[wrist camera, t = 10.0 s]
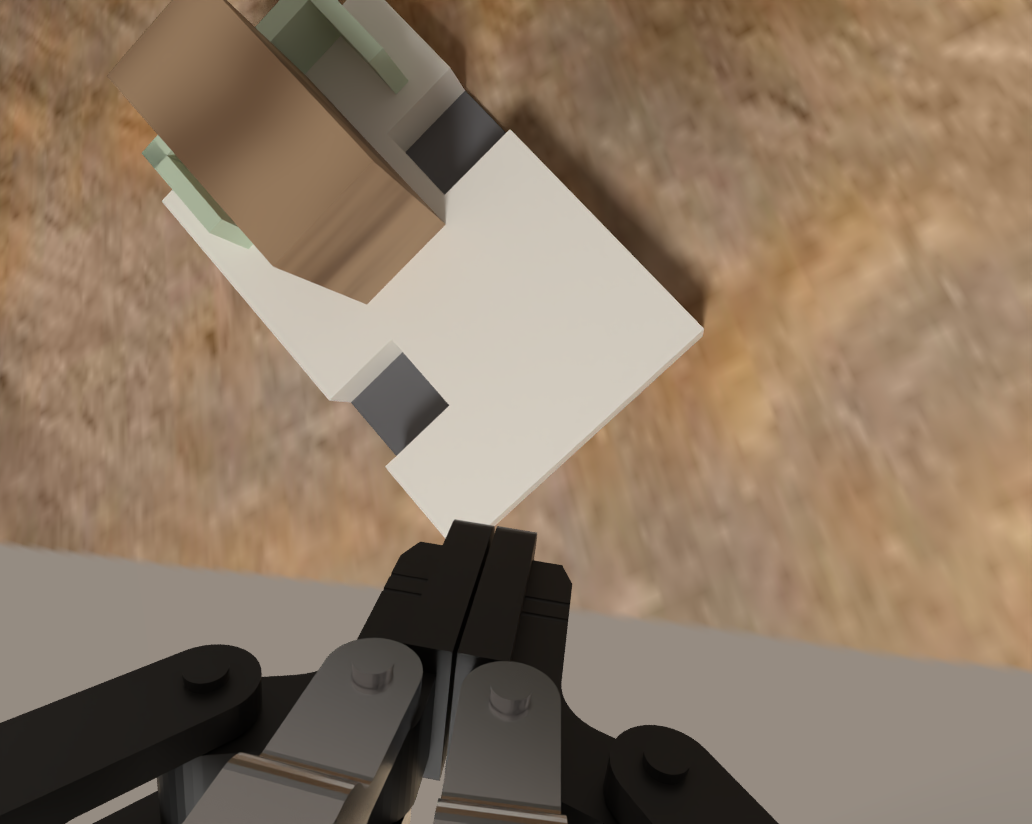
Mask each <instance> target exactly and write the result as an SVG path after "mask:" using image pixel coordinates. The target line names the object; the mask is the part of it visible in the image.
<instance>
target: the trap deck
mask: <svg viewBox="0 0 1032 824" xmlns="http://www.w3.org/2000/svg"><path fill="white" fill-rule="evenodd" d="M255 28H256V29H257V30H258V31H260V32H261V33H262V34H263V35H264V36H265V37H266V38H267V39H268V40H269V41H270V42H271V43H272V44H273V45H274V46H275V47H276V48H277V49H279V50H280V51H281V52H282V53H283V54H284V55H285V56H286V57H287V58H288V59H289V60H290V61H291V62H292V63H293V64H294V65H295V66H296V67H298V68H299V69H300V70H301V71H302V72H303V73H304V74H305V75H306V76H307V77H308V78H309V79H310V80H311V82H312V83H313V84H314V85H315V86H316V87H317V88H318V89H319V90H320V91H321V92H322V93H323V94H324V95H325V96H326V97H327V99H328V100H329V101H330V102H331V103H332V104H333V105H334V106H335V107H336V108H337V109H338V110H339V111H340V112H341V113H342V115H343V116H344V117H345V118H346V119H347V120H348V121H349V122H350V123H351V124H352V125H353V126H354V127H355V128H356V129H357V131H358V132H359V133H360V134H361V135H362V136H363V137H364V138H365V139H366V140H367V141H368V142H369V143H370V144H371V145H372V146H373V148H374V149H375V150H376V151H377V152H378V153H379V154H380V155H381V156H382V157H383V158H384V159H385V160H386V161H387V162H388V164H389V165H390V166H391V167H392V168H393V169H394V170H395V171H396V172H397V173H398V174H399V175H400V176H401V177H402V178H403V180H404V181H405V182H406V183H407V184H408V185H409V186H410V187H411V188H412V189H413V190H414V191H415V192H416V193H417V194H418V196H419V197H420V198H421V199H422V200H423V201H424V202H425V203H426V204H427V205H428V206H429V207H430V208H431V209H432V210H433V211H434V213H435V214H436V215H437V216H438V217H439V218H440V219H441V220H442V221H443V222H444V223H445V224H446V225H445V226H444V227H443V228H442V229H441V230H440V231H439V232H438V233H437V234H436V235H435V236H434V237H433V238H432V239H431V240H430V241H429V242H428V243H427V244H426V245H425V246H424V247H423V248H422V249H421V250H420V251H419V252H418V253H417V254H416V255H415V256H414V257H413V258H412V259H411V260H410V261H409V262H408V263H407V264H406V265H405V266H404V267H403V268H402V269H401V270H400V271H399V272H398V273H397V275H396V276H395V277H394V278H393V279H392V280H391V281H390V282H389V283H388V284H387V285H386V286H385V287H384V288H383V289H382V290H381V291H380V292H379V293H378V294H377V295H376V296H375V297H374V298H373V299H372V300H371V301H370V302H369V303H368V304H364V303H362V302H359V301H357V300H354V299H352V298H349V297H347V296H344V295H342V294H339V293H337V292H334V291H332V290H330V289H327V288H325V287H322V286H320V285H317V284H315V283H312V282H310V281H307V280H305V279H302V278H300V277H298V276H295V275H293V274H290V273H288V272H285V271H283V270H280V269H278V268H275V267H273V266H272V265H271V264H270V263H269V261H268V260H267V259H266V258H265V257H264V256H263V255H262V253H261V252H260V251H259V250H258V249H257V248H256V247H255V245H254V244H253V243H252V242H251V241H250V240H249V239H248V237H247V236H246V235H245V234H244V233H243V232H242V231H241V229H240V228H239V227H238V226H237V225H236V224H235V223H234V221H233V220H232V219H231V218H230V217H229V216H228V215H227V213H226V212H225V211H224V210H223V209H222V208H221V206H220V205H219V204H218V203H217V202H216V201H215V200H214V198H213V197H212V196H211V195H210V194H209V193H208V192H207V190H206V189H205V188H204V187H203V186H202V185H201V184H200V182H199V181H198V180H197V179H196V178H195V177H194V176H193V174H192V173H191V172H190V171H189V170H188V169H187V168H186V166H185V165H184V164H183V163H182V162H181V161H180V160H179V158H178V157H177V156H176V155H175V154H174V153H173V151H172V150H171V149H170V148H169V147H168V146H167V145H166V143H165V142H164V141H163V140H162V139H161V138H160V137H159V135H157V137H156V138H155V139H154V140H153V141H152V142H151V143H150V144H149V145H148V146H147V148H146V149H145V150H144V151H143V152H142V154H143V155H144V156H145V158H146V159H147V160H148V161H149V162H150V164H151V165H152V166H153V167H154V168H155V169H156V171H157V172H158V173H159V174H160V175H161V177H162V178H163V179H164V180H165V181H166V182H167V184H168V185H169V186H170V187H171V188H172V191H171V192H170V193H169V194H168V195H167V196H166V197H165V198H164V199H163V200H162V202H163V203H164V204H165V206H166V207H167V208H168V209H169V210H170V212H171V213H172V214H173V215H174V216H175V217H176V219H177V220H178V221H179V222H180V223H181V225H182V226H183V227H184V228H185V229H186V231H187V232H188V233H189V234H190V235H191V237H192V238H193V239H194V240H195V241H196V242H197V244H198V245H199V246H200V247H201V248H202V250H203V251H204V252H205V253H206V254H207V256H208V257H209V258H210V259H211V260H212V261H213V263H214V264H215V265H216V266H217V267H218V269H219V270H220V271H221V272H222V273H223V275H224V276H225V277H226V278H227V279H228V281H229V282H230V283H231V284H232V285H233V286H234V288H235V289H236V290H237V291H238V292H239V294H240V295H241V296H242V297H243V298H244V300H245V301H246V302H247V303H248V304H249V305H250V307H251V308H252V309H253V310H254V311H255V313H256V314H257V315H258V316H259V317H260V319H261V320H262V321H263V322H264V323H265V325H266V326H267V327H268V328H269V329H270V330H271V332H272V333H273V334H274V335H275V336H276V338H277V339H278V340H279V341H280V342H281V344H282V345H283V346H284V347H285V348H286V349H287V351H288V352H289V353H290V354H291V355H292V357H293V358H294V359H295V360H296V361H297V363H298V364H299V365H300V366H301V367H302V369H303V370H304V371H305V372H306V373H307V374H308V376H309V377H310V378H311V379H312V380H313V382H314V383H315V384H316V385H317V386H318V388H319V389H320V390H321V391H322V392H323V393H324V395H325V396H326V397H327V398H328V399H329V400H330V401H341V402H351V403H352V404H353V405H354V407H355V408H356V409H357V410H358V411H359V412H360V414H361V415H362V416H363V417H364V418H365V419H366V421H367V422H368V423H369V424H370V425H371V427H372V428H373V429H374V430H375V431H376V432H377V434H378V435H379V436H380V437H381V438H382V440H383V441H384V442H385V443H386V444H387V445H388V447H389V448H390V449H391V450H392V451H393V453H394V454H395V455H396V457H395V458H394V459H393V460H392V461H391V462H390V463H389V464H388V465H387V466H385V467H386V468H387V470H388V471H389V472H390V473H391V474H392V476H393V477H394V478H395V479H396V480H397V481H398V483H399V484H400V485H401V486H402V487H403V489H404V490H405V491H406V492H407V493H408V495H409V496H410V497H411V498H412V499H413V501H414V502H415V503H416V504H417V505H418V506H419V508H420V509H421V510H422V511H423V512H424V514H425V515H426V516H427V517H428V518H429V520H430V521H431V522H432V523H433V524H434V525H435V527H436V528H437V529H438V530H439V531H440V533H441V534H442V535H443V536H444V537H445V539H446V536H447V534H448V532H449V529H450V527H451V525H452V523H453V521H454V520H455V519H456V520H462V521H468V522H474V523H480V524H486V525H492V526H495V525H496V524H497V523H499V522H500V521H501V520H502V519H503V518H504V517H505V516H506V515H507V514H508V513H509V512H511V511H512V510H513V509H514V508H515V507H516V506H517V505H518V504H519V503H520V502H522V501H523V500H524V499H525V498H526V497H527V496H528V495H529V494H530V493H531V492H533V491H534V490H535V489H536V488H537V487H538V486H539V485H540V484H541V483H542V482H543V481H545V480H546V479H547V478H548V477H549V476H550V475H551V474H552V473H553V472H554V471H556V470H557V469H558V468H559V467H560V466H561V465H562V464H563V463H564V462H565V461H567V460H568V459H569V458H570V457H571V456H572V455H573V454H574V453H575V452H576V451H577V450H579V449H580V448H581V447H582V446H583V445H584V444H585V443H586V442H587V441H588V440H590V439H591V438H592V437H593V436H594V435H595V434H596V433H597V432H598V431H599V430H601V429H602V428H603V427H604V426H605V425H606V424H607V423H608V422H609V421H610V420H611V419H613V418H614V417H615V416H616V415H617V414H618V413H619V412H620V411H621V410H622V409H624V408H625V407H626V406H627V405H628V404H629V403H630V402H631V401H632V400H633V399H634V398H636V397H637V396H638V395H639V394H640V393H641V392H642V391H643V390H644V389H645V388H647V387H648V386H649V385H650V384H651V383H652V382H653V381H654V380H655V379H656V378H658V377H659V376H660V375H661V374H662V373H663V372H664V371H665V370H666V369H667V368H668V367H670V366H671V365H672V364H673V363H674V362H675V361H676V360H677V359H678V358H679V357H681V356H682V355H683V354H684V353H685V352H686V351H687V350H688V349H689V348H690V347H692V346H693V345H694V344H695V343H696V342H697V341H698V340H699V339H700V338H701V337H702V336H703V331H704V328H703V327H702V326H701V325H700V324H699V323H698V322H697V321H696V320H695V319H694V318H693V317H692V316H691V315H690V314H689V313H688V312H687V311H686V310H685V309H684V308H683V307H682V306H681V305H680V304H679V303H678V302H677V301H676V300H675V298H674V297H673V296H672V295H671V294H670V293H669V292H668V291H667V290H666V289H665V288H664V287H663V286H662V285H661V284H660V283H659V282H658V281H657V280H656V279H655V278H654V277H653V276H652V275H651V274H650V273H649V272H648V271H647V270H646V269H645V268H644V267H643V266H642V264H641V263H640V262H639V261H638V260H637V259H636V258H635V257H634V256H633V255H632V254H631V253H630V252H629V251H628V250H627V249H626V248H625V247H624V246H623V245H622V244H621V243H620V242H619V241H618V240H617V239H616V238H615V237H614V236H613V235H612V234H611V233H610V232H609V231H608V229H607V228H606V227H605V226H604V225H603V224H602V223H601V222H600V221H599V220H598V219H597V218H596V217H595V216H594V215H593V214H592V213H591V212H590V211H589V210H588V209H587V208H586V207H585V206H584V205H583V204H582V203H581V202H580V201H579V200H578V199H577V198H576V197H575V196H574V194H573V193H572V192H571V191H570V190H569V189H568V188H567V187H566V186H565V185H564V184H563V183H562V182H561V181H560V180H559V179H558V178H557V177H556V176H555V175H554V174H553V173H552V172H551V171H550V170H549V169H548V168H547V167H546V166H545V165H544V164H543V163H542V162H541V161H540V159H539V158H538V157H537V156H536V155H535V154H534V153H533V152H532V151H531V150H530V149H529V148H528V147H527V146H526V145H525V144H524V143H523V142H522V141H521V140H520V139H519V138H518V137H517V136H516V135H515V134H514V133H513V132H512V131H511V130H509V131H508V132H507V133H506V132H505V131H504V130H503V129H502V128H501V127H500V126H499V125H498V124H497V123H496V122H495V121H494V120H493V119H492V118H491V117H490V116H489V115H488V114H487V113H486V112H485V111H484V110H483V109H482V108H481V107H480V106H479V105H478V104H477V103H476V101H475V100H474V99H473V98H472V97H471V96H470V95H469V94H468V93H467V92H466V91H465V90H464V88H463V87H462V85H461V84H460V82H459V80H458V79H457V77H456V76H455V74H454V73H453V71H452V70H451V68H450V67H449V66H448V65H447V64H446V63H445V62H444V61H443V60H442V59H441V58H440V57H439V56H438V54H437V53H436V52H435V51H434V50H433V49H432V48H431V47H430V46H429V45H428V44H427V43H426V42H425V41H424V40H423V39H422V38H421V37H420V36H419V35H418V34H417V33H416V32H415V31H414V30H413V29H412V28H411V27H410V26H409V25H408V24H407V23H406V22H405V21H404V19H403V18H402V17H401V16H400V15H399V14H398V13H397V12H396V11H395V10H394V9H393V8H392V7H391V6H390V5H389V4H388V3H387V2H386V1H385V0H346V2H345V3H344V4H343V5H341V4H340V3H339V1H338V0H279V2H278V3H277V4H276V5H275V6H274V7H273V8H272V9H271V10H270V11H269V13H268V14H267V15H266V16H265V17H264V18H263V19H262V20H261V21H260V23H259V24H258V25H257V26H256V27H255Z"/></svg>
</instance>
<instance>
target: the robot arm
mask: <svg viewBox="0 0 1032 824" xmlns="http://www.w3.org/2000/svg"><path fill="white" fill-rule="evenodd" d="M494 532H495V534H494ZM536 540H537V533H536V532H530V531H524V530H518V529H512V528H505V527H499V526H497V528H496V531H495V527H494V526H492V525H486V524H480V523H474V522H468V521H462V520H456V519H455V520H454V521H453V523H452V525H451V527H450V529H449V532H448V534H447V536H446V539H445V541H444V543H443V545H437V544H431V543H425V542H419V543H418V544H416V545H415V546H413V547H412V548H410V549H409V550H407V551H406V552H405V553H403V554H402V555H401V556H400V558H399V559H398V561H397V563H396V565H395V567H394V569H393V571H392V574H391V576H390V577H389V579H388V581H387V583H386V585H385V587H384V590H383V591H382V592H381V594H380V596H379V598H378V600H377V602H376V604H375V606H374V608H373V610H372V612H371V614H370V616H369V617H368V619H367V621H366V624H365V625H364V627H363V629H362V631H361V633H360V635H359V637H358V639H357V640H355V641H351V642H348V643H346V644H344V645H342V646H340V647H339V648H337V649H335V651H333V652H332V653H331V654H330V655H329V656H328V657H327V658H326V660H325V661H324V663H323V664H322V666H321V667H320V669H319V670H318V671H316V672H312V673H307V674H300V675H289V676H288V675H287V676H270V677H261V667H260V664H259V662H258V661H257V659H256V658H255V657H254V656H253V655H252V654H251V653H249V652H248V651H246V650H244V649H241V648H238V647H235V646H230V645H221V644H220V645H205V646H199V647H195V648H192V649H188V650H185V651H183V652H180V653H178V654H175V655H173V656H170V657H168V658H165V659H162V660H160V661H157V662H155V663H152V664H150V665H147V666H144V667H142V668H139V669H137V670H134V671H132V672H129V673H127V674H124V675H122V676H119V677H116V678H114V679H112V680H109V681H106V682H104V683H101V684H99V685H96V686H94V687H91V688H88V689H86V690H83V691H81V692H78V693H76V694H73V695H71V696H68V697H66V698H63V699H61V700H58V701H55V702H53V703H50V704H48V705H45V706H43V707H40V708H38V709H35V710H33V711H30V712H27V713H25V714H22V715H20V716H17V717H15V718H12V719H10V720H7V721H4V722H2V723H0V824H65V823H67V822H68V821H70V820H72V819H74V818H75V817H77V816H79V815H82V814H83V813H85V812H88V811H90V810H92V809H94V808H96V807H98V806H100V805H102V804H104V803H106V802H108V801H110V800H112V799H114V798H116V797H118V796H120V795H122V794H124V793H126V792H128V791H130V790H132V789H134V788H136V787H138V786H140V785H142V784H144V783H146V782H148V781H151V780H152V779H155V778H157V784H158V791H156V792H154V793H152V794H151V795H148V796H146V797H145V798H143V799H140V800H138V801H136V802H134V803H133V804H131V805H129V806H127V807H125V808H123V809H121V810H119V811H117V812H115V813H113V814H111V815H109V816H107V817H105V818H103V819H101V820H99V821H97V822H95V823H93V824H410V819H411V807H412V806H413V804H414V802H415V800H416V797H417V794H418V790H419V787H420V784H421V780H422V777H423V778H428V779H433V780H440V777H441V774H442V770H443V767H444V763H445V760H446V768H445V778H444V784H443V789H442V795H441V798H439V799H438V802H437V807H436V811H435V817H434V822H433V824H778V823H777V822H776V821H775V820H774V819H773V818H772V816H771V815H769V813H768V812H767V811H766V810H765V809H764V808H763V807H762V806H761V805H760V804H759V803H758V802H757V801H756V800H755V799H754V798H753V797H752V796H751V795H750V794H749V793H748V792H747V791H746V790H745V789H744V788H743V787H742V786H741V785H740V784H739V783H738V782H737V781H736V780H735V779H734V778H733V777H732V776H731V775H730V774H729V773H728V772H727V771H726V770H725V769H724V768H723V767H722V766H721V765H720V764H719V763H718V761H717V760H715V758H714V757H713V756H712V755H710V753H709V752H708V751H707V750H706V749H705V748H703V747H702V746H701V745H700V744H699V743H698V742H697V741H695V740H694V739H692V738H691V737H689V736H687V735H685V734H684V733H682V732H679V731H677V730H674V729H671V728H668V727H663V726H657V725H643V726H637V727H633V728H630V729H628V730H626V731H624V732H623V733H622V734H620V735H619V736H618V737H617V738H616V739H615V738H613V737H611V736H609V735H606V734H604V733H602V732H600V731H598V730H596V729H594V728H592V727H590V726H589V725H587V724H586V723H584V722H583V721H582V720H581V719H580V718H578V717H577V716H576V715H575V714H574V713H573V711H572V710H571V709H570V708H569V706H568V705H567V703H566V702H565V699H564V697H563V694H562V689H561V681H562V672H563V662H564V653H565V644H566V634H567V626H568V617H569V608H570V599H571V590H572V583H571V581H570V579H569V577H568V575H567V574H566V572H565V570H564V568H563V566H562V565H557V564H551V563H545V562H539V561H534V555H535V548H536ZM446 756H447V758H446Z"/></svg>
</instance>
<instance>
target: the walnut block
mask: <svg viewBox="0 0 1032 824" xmlns="http://www.w3.org/2000/svg"><path fill="white" fill-rule="evenodd" d="M107 77H108V78H109V79H110V80H111V82H112V83H113V84H114V85H115V86H116V87H117V88H118V90H119V91H120V92H121V93H122V94H123V95H124V96H125V98H126V99H127V100H128V101H129V102H130V103H131V105H132V106H133V107H134V108H135V109H136V110H137V111H138V113H139V114H140V115H141V116H142V117H143V118H144V119H145V121H146V122H147V123H148V124H149V125H150V126H151V127H152V129H153V130H154V131H155V132H156V133H157V134H158V135H159V137H160V138H161V139H162V140H163V141H164V142H165V143H166V145H167V146H168V147H169V148H170V149H171V150H172V151H173V153H174V154H175V155H176V156H177V157H178V158H179V160H180V161H181V162H182V163H183V164H184V165H185V166H186V168H187V169H188V170H189V171H190V172H191V173H192V174H193V176H194V177H195V178H196V179H197V180H198V181H199V182H200V184H201V185H202V186H203V187H204V188H205V189H206V190H207V192H208V193H209V194H210V195H211V196H212V197H213V198H214V200H215V201H216V202H217V203H218V204H219V205H220V206H221V208H222V209H223V210H224V211H225V212H226V213H227V215H228V216H229V217H230V218H231V219H232V220H233V221H234V223H235V224H236V225H237V226H238V227H239V228H240V229H241V231H242V232H243V233H244V234H245V235H246V236H247V237H248V239H249V240H250V241H251V242H252V243H253V244H254V245H255V247H256V248H257V249H258V250H259V251H260V252H261V253H262V255H263V256H264V257H265V258H266V259H267V260H268V261H269V263H270V264H271V265H272V266H273V267H275V268H278V269H280V270H283V271H285V272H288V273H290V274H293V275H295V276H298V277H300V278H302V279H305V280H307V281H310V282H312V283H315V284H317V285H320V286H322V287H325V288H327V289H330V290H332V291H334V292H337V293H339V294H342V295H344V296H347V297H349V298H352V299H354V300H357V301H359V302H362V303H364V304H368V303H369V302H370V301H371V300H372V299H373V298H374V297H375V296H376V295H377V294H378V293H379V292H380V291H381V290H382V289H383V288H384V287H385V286H386V285H387V284H388V283H389V282H390V281H391V280H392V279H393V278H394V277H395V276H396V275H397V273H398V272H399V271H400V270H401V269H402V268H403V267H404V266H405V265H406V264H407V263H408V262H409V261H410V260H411V259H412V258H413V257H414V256H415V255H416V254H417V253H418V252H419V251H420V250H421V249H422V248H423V247H424V246H425V245H426V244H427V243H428V242H429V241H430V240H431V239H432V238H433V237H434V236H435V235H436V234H437V233H438V232H439V231H440V230H441V229H442V228H443V227H444V226H445V225H446V224H445V223H444V222H443V221H442V220H441V219H440V218H439V217H438V216H437V215H436V214H435V213H434V211H433V210H432V209H431V208H430V207H429V206H428V205H427V204H426V203H425V202H424V201H423V200H422V199H421V198H420V197H419V196H418V194H417V193H416V192H415V191H414V190H413V189H412V188H411V187H410V186H409V185H408V184H407V183H406V182H405V181H404V180H403V178H402V177H401V176H400V175H399V174H398V173H397V172H396V171H395V170H394V169H393V168H392V167H391V166H390V165H389V164H388V162H387V161H386V160H385V159H384V158H383V157H382V156H381V155H380V154H379V153H378V152H377V151H376V150H375V149H374V148H373V146H372V145H371V144H370V143H369V142H368V141H367V140H366V139H365V138H364V137H363V136H362V135H361V134H360V133H359V132H358V131H357V129H356V128H355V127H354V126H353V125H352V124H351V123H350V122H349V121H348V120H347V119H346V118H345V117H344V116H343V115H342V113H341V112H340V111H339V110H338V109H337V108H336V107H335V106H334V105H333V104H332V103H331V102H330V101H329V100H328V99H327V97H326V96H325V95H324V94H323V93H322V92H321V91H320V90H319V89H318V88H317V87H316V86H315V85H314V84H313V83H312V82H311V80H310V79H309V78H308V77H307V76H306V75H305V74H304V73H303V72H302V71H301V70H300V69H299V68H298V67H296V66H295V65H294V64H293V63H292V62H291V61H290V60H289V59H288V58H287V57H286V56H285V55H284V54H283V53H282V52H281V51H280V50H279V49H277V48H276V47H275V46H274V45H273V44H272V43H271V42H270V41H269V40H268V39H267V38H266V37H265V36H264V35H263V34H262V33H261V32H260V31H258V30H257V29H256V28H255V27H254V26H253V25H252V24H251V23H250V22H249V21H248V20H247V19H246V18H245V17H244V16H243V15H242V14H241V13H239V12H238V11H237V10H236V9H235V8H234V7H233V6H232V5H231V4H230V3H229V2H228V1H227V0H172V1H171V2H170V3H169V4H168V5H167V6H166V8H165V9H164V10H163V11H162V12H161V13H160V14H159V16H158V17H157V18H156V19H155V20H154V21H153V23H152V24H151V25H150V26H149V27H148V28H147V29H146V31H145V32H144V33H143V34H142V35H141V36H140V38H139V39H138V40H137V41H136V42H135V43H134V45H133V46H132V47H131V48H130V49H129V50H128V51H127V53H126V54H125V55H124V56H123V57H122V58H121V60H120V61H119V62H118V63H117V64H116V65H115V66H114V68H113V69H112V70H111V71H110V72H109V73H108V75H107Z"/></svg>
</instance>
